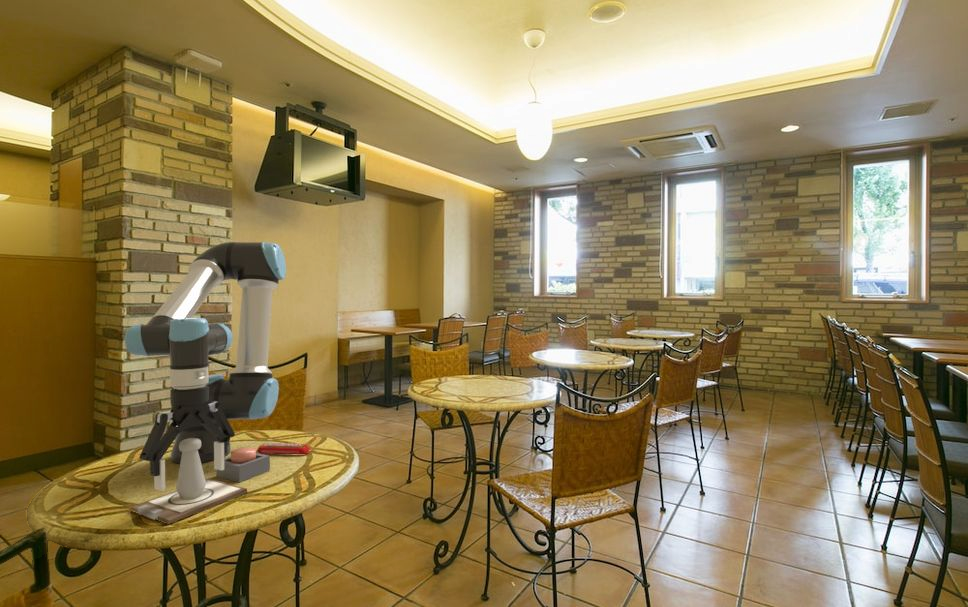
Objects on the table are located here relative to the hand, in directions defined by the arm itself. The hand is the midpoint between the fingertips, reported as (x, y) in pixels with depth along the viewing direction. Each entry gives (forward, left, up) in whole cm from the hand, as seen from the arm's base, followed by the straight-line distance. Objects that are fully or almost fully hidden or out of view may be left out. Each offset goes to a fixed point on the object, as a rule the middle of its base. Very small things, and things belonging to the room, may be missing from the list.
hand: (191, 479), depth 110 cm
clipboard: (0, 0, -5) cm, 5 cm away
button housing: (-5, +17, -5) cm, 18 cm away
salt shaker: (0, 0, -4) cm, 4 cm away
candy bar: (-9, +33, -6) cm, 35 cm away
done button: (-5, +17, -2) cm, 18 cm away
